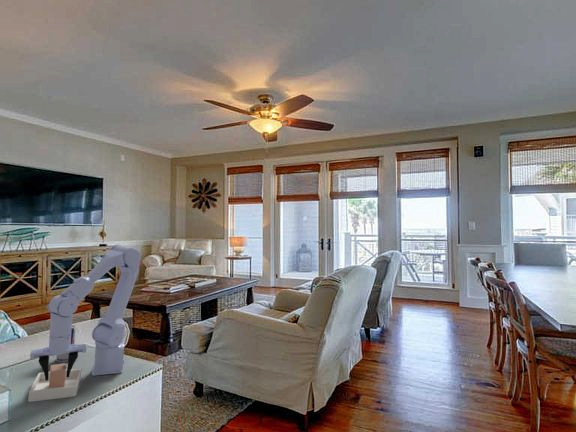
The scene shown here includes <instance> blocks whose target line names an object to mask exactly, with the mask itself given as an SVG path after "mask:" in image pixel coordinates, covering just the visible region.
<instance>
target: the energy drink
mask: <svg viewBox="0 0 576 432" xmlns="http://www.w3.org/2000/svg"><path fill="white" fill-rule="evenodd" d="M76 330H77V328H76V325H73V324H72V329H71V344H70V345H76V344H75V342H76ZM68 357H69V354H62V355H56V358H55V361H57V362H58V363H68Z"/></svg>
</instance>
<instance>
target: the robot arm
mask: <svg viewBox="0 0 576 432" xmlns="http://www.w3.org/2000/svg"><path fill="white" fill-rule="evenodd" d="M141 260H142V254H141V252H140V250H139V249H138V248H137V247H134V246H133V247H131V246H126V245H121V244H114V245H112V247H111V248H109V249H108V250H106V253H105V255H104V257H102V259H101V260H100V261H99V262H98V263H97V264H96V265H95V266H94V267H93V268H92V269H91V270H90V271H89V272H88V274H87V275H85V276H80V277H78V278H75V279H74V280H72V282H73V283H71V284H70V285H69V286H68V287H67V288H66V289H65V290H63V291H61V293H60V294H58V295H55V296H54V297H52V298H51V299H50V301H49V302H48V304H47V305H46V309H47V310H48V312H49V313H50V322H49V323H50V324H49V338H48V346H47V347H44V348H43V347H42V348H38V349H34V350H30V354H29V355H30V356H29V360H35V359H37V358H38V363H39V365H40V367H41V369H42V371H43V372H44V375H45V381H48V376H49V372H50V370H49V366H50V363H49V362H50V357H51V356H57V355H62V354H69V357H68V362H67V367H66V370H67V377H69V375H70V371H71V370H73V369H72V368H73V366H74V365H75V362H76V361H77V359H78V357H79V353H86V352H87V344H86V343H85V344H74V345H70V344H71V329H72V325H73V314H74V313H76V312H77V310H78V307H79V305H80V304H81V301H83V299H84V298H86V296H88V295H89V294H90V293H91V292H92V291H93V290H94V287H95V283H96V282H97V281H98V280H100V279H101V278H102V277H103V276H104V275H105V274H107V273H108V272H109V271H110V270H111V269H113V268H116V267H118V268H119V270H120V272H121V274H120V277H119V279H118V281H117V285H116V287H115V290H114V293H113V295H112V298H111V300H110V303H109V306H108V309H107V312H106V314H105V315H104V316H102V317H101V318H100V319H98V323H97V325H95V326H94V328H93V330H92V332H91V338H92V340H94V341H95V343H94V344H95V353H94V364H93V366H92V372H91V376H102V375H103V376H104V375H112V374H113V375H114V374H121V373H123V371H124V365H125V359H124V355H125V343H122V342H123V340H124V337H125V329H126V325H125V322H124V320H123V317H124V314H125V312H126V308H127V305H128V304H129V302H130V301H129V300H130V298H131V294H132V292H133V289H134V287H135V283H136V281H137V278H138V275H139V273H140V262H141ZM67 377H66V378H67Z"/></svg>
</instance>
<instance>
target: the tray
mask: <svg viewBox="0 0 576 432" xmlns="http://www.w3.org/2000/svg"><path fill="white" fill-rule="evenodd" d="M82 372H83V369H82V368H75V369H71V371H70V375H69V377H67V369H66V372H65V385H64V387H59V388H50V389H49V380H50V371H49V376H48V381H45V375H44V371H43V372H38V373H37V374H36V375H37V376H36V377H35V379H34V382H33V383H32V386H31V387H30V388H29V391H28V401H27V402H28V403H33V402H41V401H47V400H57V399H65V398H72V397H77V394H78V392H79V391H78V390H79V387H80V384H81V381H82ZM66 377H67V378H66Z"/></svg>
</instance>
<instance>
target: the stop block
mask: <svg viewBox="0 0 576 432" xmlns="http://www.w3.org/2000/svg"><path fill="white" fill-rule="evenodd" d="M66 366H67V362H63V363H58V364H57V363H55V364H51V365H50V370H49V372H50V380H49V389H50V388H59V387H64V385H65V372H66V370H67V367H66Z"/></svg>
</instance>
